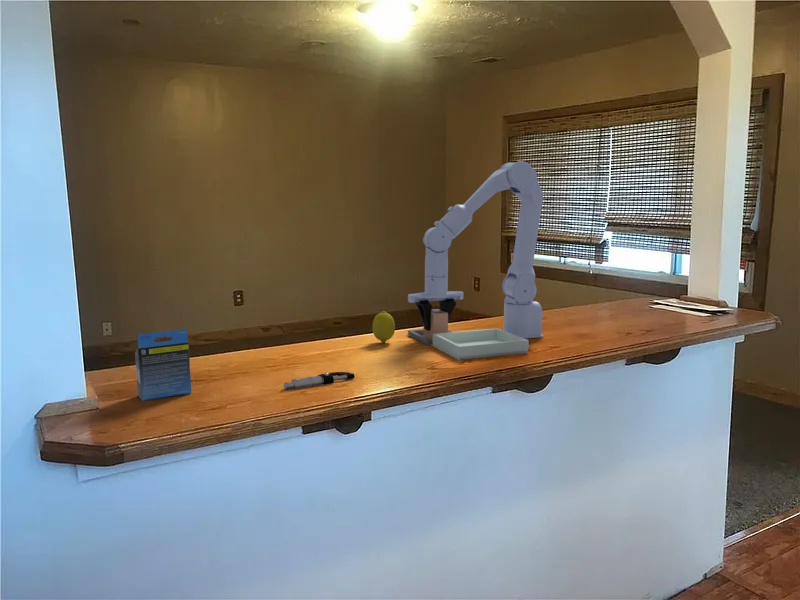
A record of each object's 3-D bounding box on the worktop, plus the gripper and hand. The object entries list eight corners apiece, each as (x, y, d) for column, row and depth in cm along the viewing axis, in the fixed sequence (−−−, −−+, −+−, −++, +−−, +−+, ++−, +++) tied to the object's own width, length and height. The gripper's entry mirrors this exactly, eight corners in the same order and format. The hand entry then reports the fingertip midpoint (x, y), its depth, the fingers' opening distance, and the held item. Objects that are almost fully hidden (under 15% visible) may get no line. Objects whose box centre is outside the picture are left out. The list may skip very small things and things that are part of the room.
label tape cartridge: (187, 388, 126) (183, 324, 124) (191, 394, 123) (188, 328, 121) (137, 395, 122) (133, 329, 120) (141, 401, 118) (136, 334, 116)
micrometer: (342, 373, 139) (342, 361, 138) (358, 382, 133) (358, 369, 132) (273, 383, 131) (273, 371, 131) (286, 393, 125) (286, 380, 125)
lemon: (368, 343, 162) (368, 311, 161) (379, 339, 167) (379, 308, 166) (388, 346, 160) (388, 314, 158) (398, 341, 165) (399, 310, 163)
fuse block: (437, 335, 172) (437, 308, 171) (447, 340, 167) (448, 312, 165) (423, 336, 171) (423, 309, 169) (433, 341, 165) (433, 313, 164)
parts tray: (497, 339, 167) (497, 328, 167) (528, 352, 155) (528, 340, 154) (432, 345, 161) (432, 333, 160) (458, 359, 148) (459, 346, 147)
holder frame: (442, 332, 176) (443, 327, 176) (463, 341, 165) (463, 337, 165) (408, 334, 172) (408, 330, 172) (427, 345, 161) (427, 340, 161)
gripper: (455, 272, 172) (454, 323, 175) (403, 275, 167) (403, 328, 169) (467, 276, 166) (466, 329, 168) (414, 278, 160) (413, 333, 163)
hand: (435, 329), depth 168 cm, fingers closed on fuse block, 4 cm apart
